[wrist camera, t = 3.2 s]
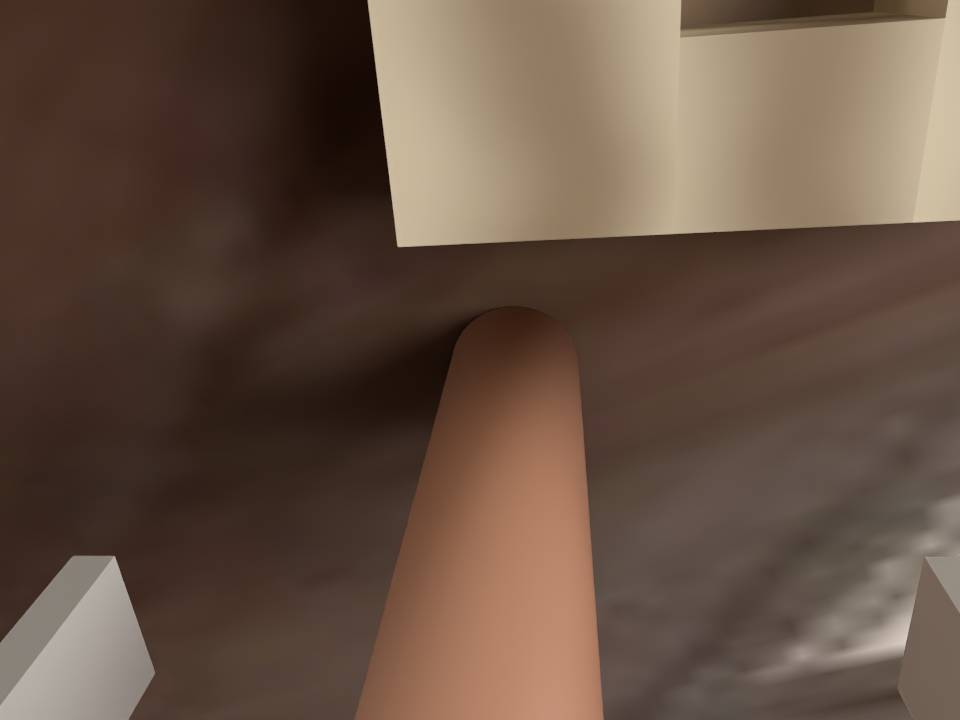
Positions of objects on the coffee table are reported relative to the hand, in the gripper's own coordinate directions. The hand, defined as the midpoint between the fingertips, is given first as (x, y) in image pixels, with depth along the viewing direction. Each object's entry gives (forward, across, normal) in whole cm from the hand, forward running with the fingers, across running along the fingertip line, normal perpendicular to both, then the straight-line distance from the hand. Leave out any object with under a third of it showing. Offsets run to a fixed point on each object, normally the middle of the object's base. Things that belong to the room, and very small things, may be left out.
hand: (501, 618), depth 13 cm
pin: (+10, 0, 0) cm, 10 cm away
